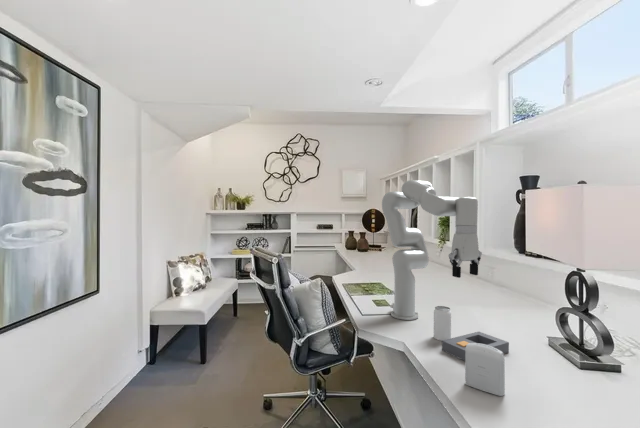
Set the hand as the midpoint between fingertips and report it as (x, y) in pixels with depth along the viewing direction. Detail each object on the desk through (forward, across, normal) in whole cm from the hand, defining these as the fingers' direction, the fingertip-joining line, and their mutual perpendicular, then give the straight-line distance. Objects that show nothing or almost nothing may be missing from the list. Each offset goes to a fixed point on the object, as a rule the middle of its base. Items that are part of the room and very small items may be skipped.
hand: (465, 275), depth 126 cm
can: (+26, +3, -8) cm, 27 cm away
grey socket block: (+26, +2, +6) cm, 27 cm away
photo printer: (+26, +22, +24) cm, 42 cm away
